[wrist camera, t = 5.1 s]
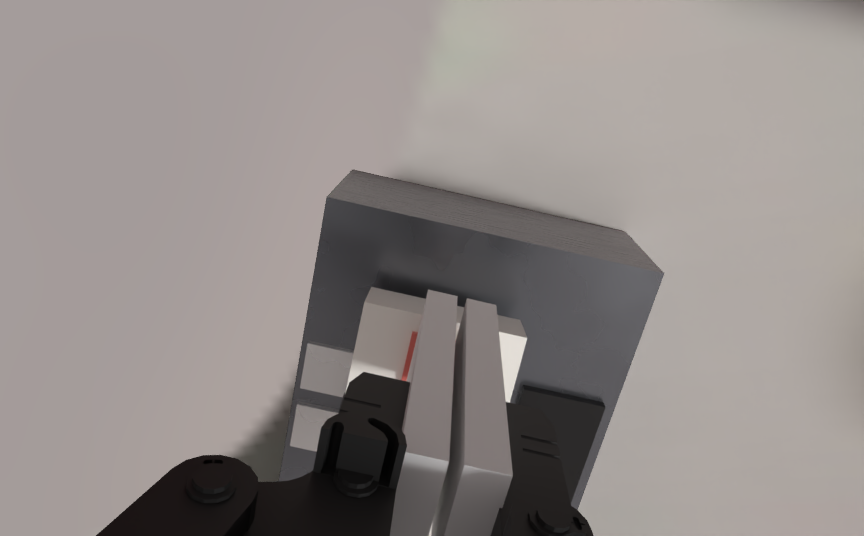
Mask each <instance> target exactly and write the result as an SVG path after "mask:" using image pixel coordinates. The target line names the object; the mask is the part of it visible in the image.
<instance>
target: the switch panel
mask: <svg viewBox="0 0 864 536" xmlns="http://www.w3.org/2000/svg"><path fill="white" fill-rule="evenodd" d="M663 275H664V273H663V272H662V271H661V269H660V268H659V267H658V266H657V265H656V264H655V263H654V262H653V261H652V260H651V259H650V258H649V257H648V255H647V254H646V253H645V252H644V251H643V250H642V249H641V248H640V247H639V246H638V245H637V244H636V243H635V241H634V240H633V239H632V238H631V237H630V236H629V235H628V234H627V233H626V232H624V231H620V230H615V229H611V228H606V227H602V226H598V225H593V224H589V223H584V222H580V221H576V220H571V219H567V218H563V217H558V216H554V215H549V214H545V213H541V212H536V211H532V210H528V209H523V208H519V207H514V206H510V205H506V204H501V203H497V202H493V201H488V200H484V199H479V198H475V197H471V196H466V195H462V194H458V193H453V192H449V191H444V190H440V189H436V188H431V187H427V186H423V185H418V184H414V183H409V182H405V181H401V180H396V179H392V178H388V177H383V176H379V175H374V174H370V173H366V172H361V171H357V170H352V171H351V172H350V173H349V174H348V175H347V176H346V177H345V178H344V179H343V181H341V182H340V183H339V185H338V186H337V187H336V188H335V189H334V190H333V191H332V192H331V193H330V194H329V195H328V196H327V199H326V204H325V211H324V217H323V222H322V228H321V234H320V240H319V246H318V252H317V258H316V264H315V270H314V276H313V282H312V287H311V293H310V299H309V305H308V311H307V317H306V323H305V328H304V334H303V341H302V346H301V352H300V358H299V364H298V370H297V376H296V382H295V388H294V393H293V399H292V405H291V411H290V417H289V423H288V429H287V435H286V441H285V447H284V453H283V458H282V464H281V470H280V476H279V481H288V480H292V479H296V478H299V477H302V476H304V475H306V474H308V473H310V472H311V471H312V470H313V468H314V463H315V457H316V452H317V447H318V441H319V436H320V430H321V427H322V426H323V424H324V423H325V422H326V420H327V419H328V418H330V417H332V416H334V415H336V414H338V413H339V411H340V407H341V405H342V402H343V400H344V396H345V392H346V387H347V382H348V378H349V373H350V368H351V363H352V359H353V354H354V349H355V344H356V339H357V335H358V330H359V325H360V320H361V316H362V311H363V306H364V302H365V299H366V297H367V295H368V293H369V291H370V289H371V287H375V288H379V289H384V290H388V291H393V292H397V293H402V294H406V295H411V296H415V297H420V298H424V299H426V296H427V292H428V290H433V291H437V292H442V293H446V294H450V295H455V296H458V298H457V306H460V307H465V303H466V300H467V298H468V299H472V300H477V301H481V302H486V303H490V304H494V305H496V307H497V315H500V316H505V317H509V318H514V319H518V320H520V321H521V323H522V326H523V328H524V331H525V333H526V336H527V341H526V345H525V349H524V352H523V356H522V360H521V363H520V367H519V371H518V374H517V378H516V382H515V385H514V389H513V392H512V396H511V400H510V403H513V404H518V405H522V406H527V407H531V408H536V409H540V410H542V412H543V413H544V414H545V415H546V417H547V418H548V419H549V421H550V422H551V423H552V424H553V426H554V429H555V434H556V439H557V446H558V448H559V452H560V460H561V462H562V466H563V471H564V476H565V480H566V485H567V489H568V494H569V499H570V503H571V506H572V507H574V508H575V509H578V507H579V504H580V501H581V499H582V496H583V493H584V490H585V488H586V485H587V482H588V480H589V477H590V474H591V471H592V469H593V466H594V463H595V460H596V458H597V455H598V452H599V450H600V447H601V444H602V441H603V439H604V436H605V433H606V430H607V428H608V425H609V422H610V420H611V417H612V414H613V411H614V409H615V406H616V403H617V400H618V398H619V395H620V392H621V390H622V387H623V384H624V381H625V379H626V376H627V373H628V371H629V368H630V365H631V362H632V360H633V357H634V354H635V351H636V349H637V346H638V343H639V341H640V338H641V335H642V332H643V330H644V327H645V324H646V321H647V319H648V316H649V313H650V311H651V308H652V305H653V302H654V300H655V297H656V294H657V292H658V289H659V286H660V283H661V281H662V278H663Z"/></svg>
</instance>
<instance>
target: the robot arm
mask: <svg viewBox="0 0 864 536" xmlns="http://www.w3.org/2000/svg"><path fill="white" fill-rule="evenodd" d="M457 298H458V296H455V295H450V294H446V293H442V292H437V291H433V290H428V292H427V296H426V300H425V305H424V309H423V313H422V317H421V322H420V326H419V330H418V334H417V339H416V343H415V347H414V351H413V355H412V360H411V364H410V368H409V372H408V377H407V381H403V380H398V379H394V378H389V377H385V376H380V375H376V374H371V373H367V372H363V373H361V374H360V375H359V376H357V377H356V378H355V379H353V380H352V381H351V382H349V385H348V388H347V390H346V393H345V396H344V400H343V402H342V405H341V407H340V411H339V413H338V414H336V415H334V416H332V417H330V418H328V419H327V420H326V422H325V423H324V424H323V426H322V427H321V430H320V436H319V441H318V447H317V452H316V457H315V463H314V468H313V470H312V471H311V472H310V473H308V474H306V475H304V476H302V477H299V478H296V479H292V480H288V481H279V482H258V477H257V476H256V474H255V473H254V472H253V470H252V469H251V467H250V466H248V465H246V464H245V463H243V462H241V461H240V460H238V459H235V458H231V457H227V456H223V455H205V456H204V455H203V456H200V457H196V458H192V459H188V460H186V461H184V462H182V463H181V464H179V465H177V466H176V467H174V468H172V469H171V470H170V471H169V472H168V473H167V474H166V475H164V476H163V477H162V478H161V479H160V480H159V481H158V482H156V483H155V484H154V485H153V486H152V487H151V488H150V489H149V490H147V492H145V493H144V494H143V495H142V496H141V497H139V498H138V499H137V500H136V501H135V502H134V503H133V504H132V505H130V506H129V507H128V508H127V509H126V510H125V511H124V512H122V513H121V514H120V515H119V516H118V517H117V518H116V519H114V520H113V521H112V522H111V523H110V524H109V525H108V526H107V527H105V528H104V529H103V530H102V531H101V532H100V533H99V534H97V535H96V536H429V532H430V528H431V525H432V532H431V536H593V532H592V530H591V528H590V526H589V524H588V522H587V520H586V519H585V518H584V517H583V516H582V515H581V514H580V513H579V512H578V510H577V509H575V508H574V507H572V506H571V503H570V499H569V494H568V489H567V485H566V480H565V476H564V471H563V466H562V462H561V460H560V452H559V448H558V446H557V439H556V434H555V429H554V426H553V424H552V423H551V422H550V421H549V419H548V418H547V417H546V415H545V414H544V413H543V412H542V410H540V409H536V408H531V407H527V406H522V405H518V404H513V403H509V402H506V400H505V390H504V379H503V369H502V359H501V348H500V338H499V328H498V318H497V307H496V305H494V304H490V303H486V302H481V301H477V300H472V299H468V298H467V300H466V303H465V307H464V311H463V315H462V319H461V322H460V326H459V330H458V334H457V338H456V342H455V337H456V318H457Z"/></svg>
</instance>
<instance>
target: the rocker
mask: <svg viewBox="0 0 864 536" xmlns="http://www.w3.org/2000/svg"><path fill="white" fill-rule="evenodd" d="M425 300H426V299H424V298H420V297H415V296H411V295H406V294H402V293H397V292H393V291H388V290H384V289H379V288H375V287H371V289H370V291H369V293H368V295H367V297H366V299H365V302H364V306H363V311H362V316H361V320H360V325H359V330H358V335H357V339H356V344H355V349H354V354H353V359H352V363H351V368H350V373H349V378H348V382H347V387H346V390H347V388H348V385H349V382H351V381H352V380H353V379H355V378H356V377H357V376H359V375H360V374H361V373H363V372H367V373H371V374H376V375H380V376H385V377H389V378H394V379H398V380H403V381H407V377H408V372H409V368H410V364H411V360H412V355H413V351H414V347H415V343H416V339H417V334H418V330H419V326H420V322H421V317H422V313H423V309H424V305H425ZM463 311H464V307H460V306H457V318H456V337H455V342H456V338H457V334H458V330H459V326H460V322H461V319H462V315H463ZM497 318H498V328H499V338H500V348H501V359H502V369H503V379H504V390H505V400H506V402H509V403H510V400H511V396H512V392H513V389H514V385H515V382H516V378H517V374H518V371H519V367H520V363H521V360H522V356H523V352H524V349H525V345H526V341H527V336H526V333H525V331H524V328H523V326H522V323H521V321H520V320H518V319H514V318H509V317H505V316H500V315H497ZM345 393H346V392H345ZM431 532H432V525H431V528H430V532H429V536H431Z"/></svg>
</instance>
